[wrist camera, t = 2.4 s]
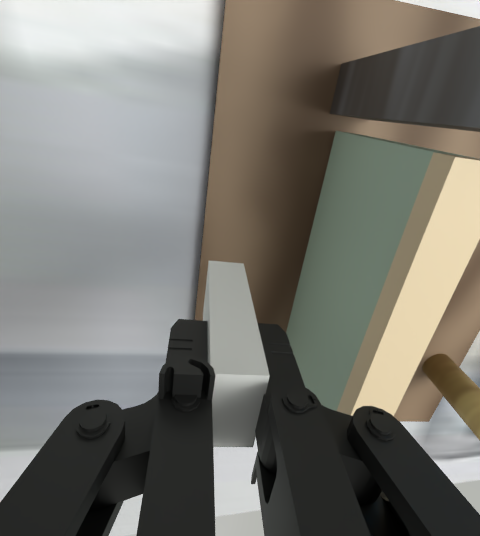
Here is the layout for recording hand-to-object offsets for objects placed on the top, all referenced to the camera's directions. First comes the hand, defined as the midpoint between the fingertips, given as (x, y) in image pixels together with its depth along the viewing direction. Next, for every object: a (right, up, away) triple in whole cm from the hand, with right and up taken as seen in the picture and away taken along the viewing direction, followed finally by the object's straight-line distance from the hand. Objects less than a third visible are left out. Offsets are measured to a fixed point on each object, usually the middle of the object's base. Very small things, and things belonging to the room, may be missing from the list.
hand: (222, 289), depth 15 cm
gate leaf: (+6, +1, +8) cm, 10 cm away
